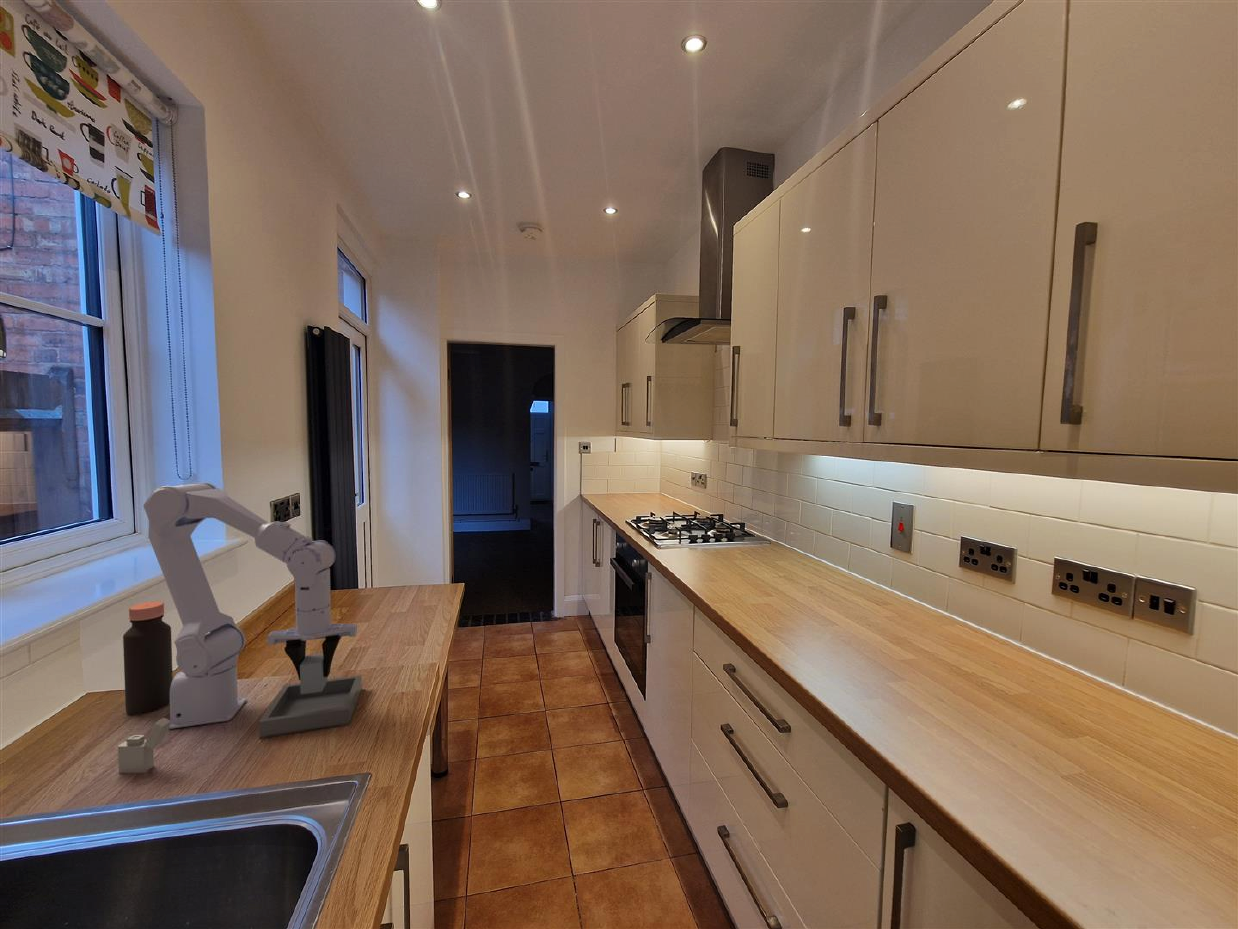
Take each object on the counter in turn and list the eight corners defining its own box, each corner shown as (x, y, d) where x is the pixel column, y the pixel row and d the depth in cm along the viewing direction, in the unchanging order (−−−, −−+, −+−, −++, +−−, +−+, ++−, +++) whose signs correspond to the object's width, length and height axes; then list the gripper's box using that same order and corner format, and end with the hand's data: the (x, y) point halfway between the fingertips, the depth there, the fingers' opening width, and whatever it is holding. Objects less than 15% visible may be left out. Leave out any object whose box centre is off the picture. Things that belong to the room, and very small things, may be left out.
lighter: (117, 773, 78) (115, 723, 78) (128, 766, 80) (126, 717, 79) (164, 773, 78) (162, 723, 78) (173, 765, 80) (172, 717, 80)
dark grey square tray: (259, 738, 87) (258, 722, 87) (284, 699, 101) (284, 685, 100) (349, 725, 92) (348, 709, 92) (361, 689, 105) (361, 675, 105)
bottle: (155, 695, 102) (152, 598, 101) (182, 699, 100) (179, 601, 99) (116, 713, 95) (112, 609, 94) (144, 717, 94) (140, 612, 93)
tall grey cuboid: (300, 694, 93) (299, 665, 93) (307, 683, 97) (306, 655, 97) (321, 691, 94) (321, 662, 94) (327, 680, 98) (327, 653, 98)
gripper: (261, 617, 89) (263, 692, 90) (351, 609, 94) (353, 680, 94) (274, 605, 96) (276, 674, 96) (358, 598, 100) (359, 664, 101)
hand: (314, 676), depth 96 cm, fingers closed on tall grey cuboid, 3 cm apart
